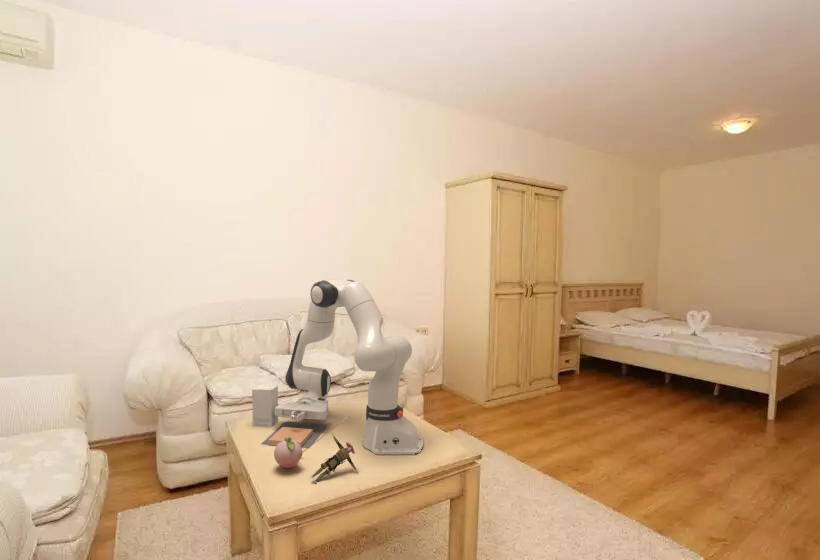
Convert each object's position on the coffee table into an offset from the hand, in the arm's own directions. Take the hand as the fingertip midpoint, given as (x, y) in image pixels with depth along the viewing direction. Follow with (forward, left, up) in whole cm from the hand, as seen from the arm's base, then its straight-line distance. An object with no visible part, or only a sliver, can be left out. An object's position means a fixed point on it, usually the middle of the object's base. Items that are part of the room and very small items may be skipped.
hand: (294, 418), depth 156 cm
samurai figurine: (-20, +23, -8) cm, 32 cm away
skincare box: (+16, -10, -8) cm, 20 cm away
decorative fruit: (-7, +22, -8) cm, 24 cm away
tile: (0, -4, -6) cm, 7 cm away
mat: (0, -3, -8) cm, 8 cm away
